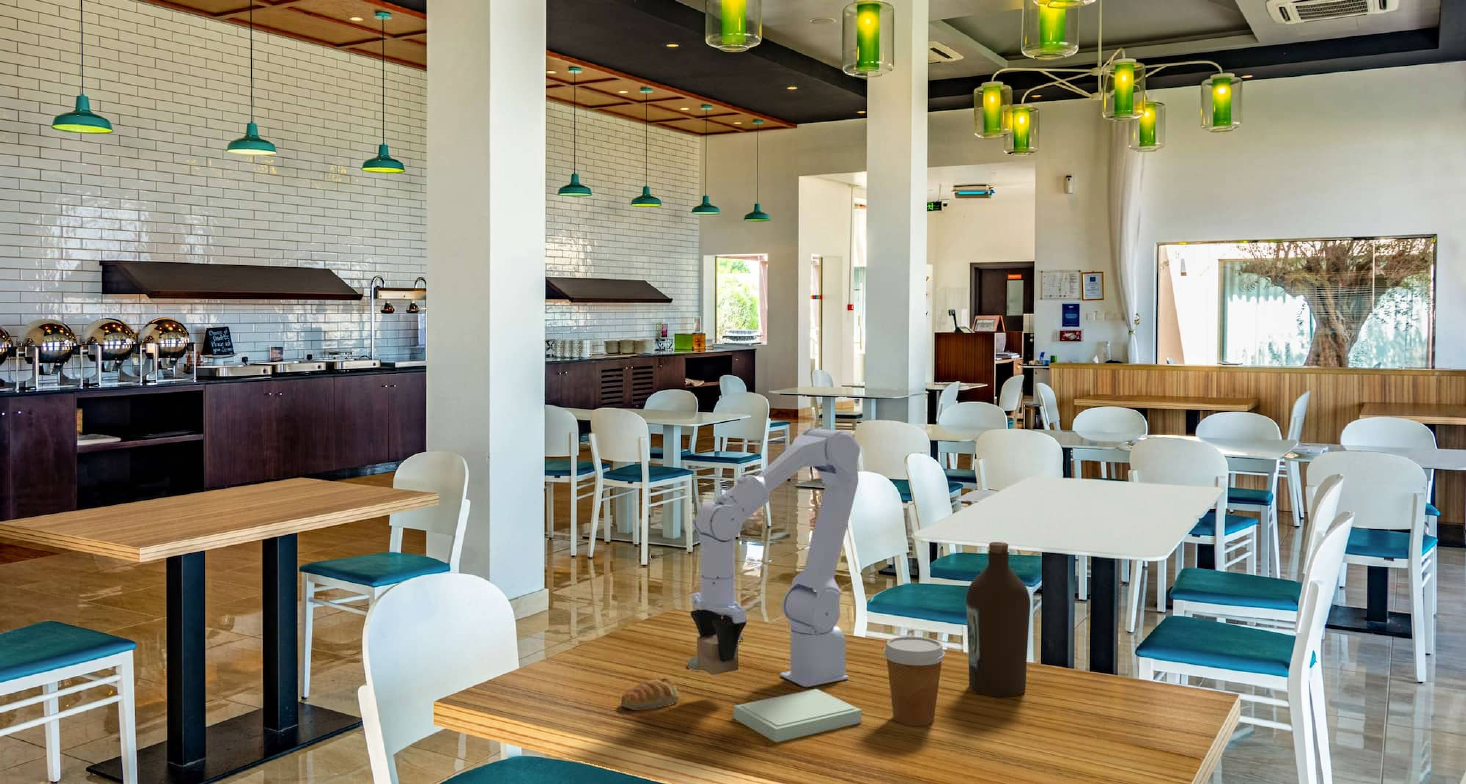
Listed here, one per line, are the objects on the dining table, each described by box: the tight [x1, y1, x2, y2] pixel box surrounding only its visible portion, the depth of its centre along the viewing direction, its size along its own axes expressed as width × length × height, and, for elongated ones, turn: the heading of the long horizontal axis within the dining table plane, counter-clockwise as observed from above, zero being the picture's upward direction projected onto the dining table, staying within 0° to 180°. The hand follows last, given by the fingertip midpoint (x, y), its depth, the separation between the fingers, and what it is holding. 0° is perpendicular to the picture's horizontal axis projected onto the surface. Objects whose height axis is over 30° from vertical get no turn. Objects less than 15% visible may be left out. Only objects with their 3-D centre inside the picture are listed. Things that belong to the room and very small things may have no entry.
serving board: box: [733, 688, 863, 743], centre depth 168 cm, size 16×12×2 cm
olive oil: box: [965, 541, 1031, 698], centre depth 183 cm, size 11×11×25 cm
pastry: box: [620, 676, 680, 712], centre depth 176 cm, size 9×7×4 cm
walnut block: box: [696, 634, 739, 676], centre depth 179 cm, size 5×5×5 cm
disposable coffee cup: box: [883, 635, 946, 727], centre depth 168 cm, size 10×10×12 cm
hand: (718, 656), depth 179 cm, fingers closed on walnut block, 5 cm apart
